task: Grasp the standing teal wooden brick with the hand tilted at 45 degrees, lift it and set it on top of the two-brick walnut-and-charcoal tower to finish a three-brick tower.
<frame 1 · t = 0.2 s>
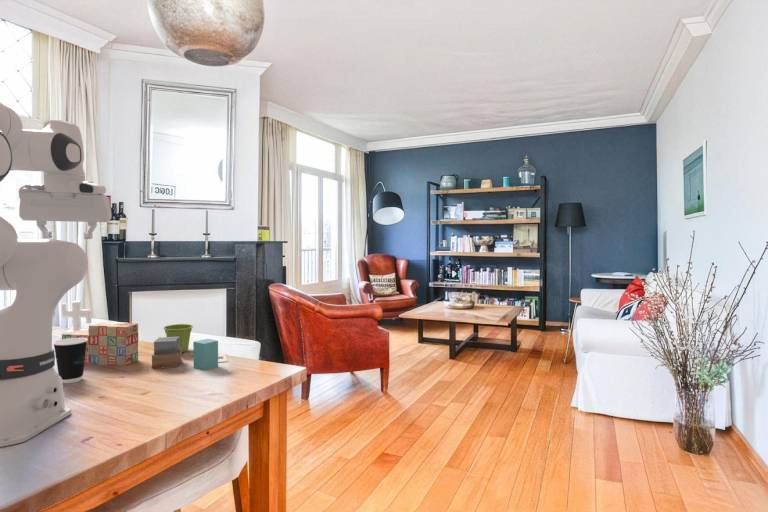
hand: (68, 238, 119), 39 cm above the table, tool pointing down, fingers open, 8 cm apart
instruction card: (213, 359, 147), on the table
teal brick: (206, 367, 138), on the table
plant pot: (178, 351, 156), on the table
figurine: (77, 340, 172), on the table
tower: (167, 364, 140), on the table
dixie cup: (71, 381, 124), on the table
stack of blocks: (100, 362, 142), on the table
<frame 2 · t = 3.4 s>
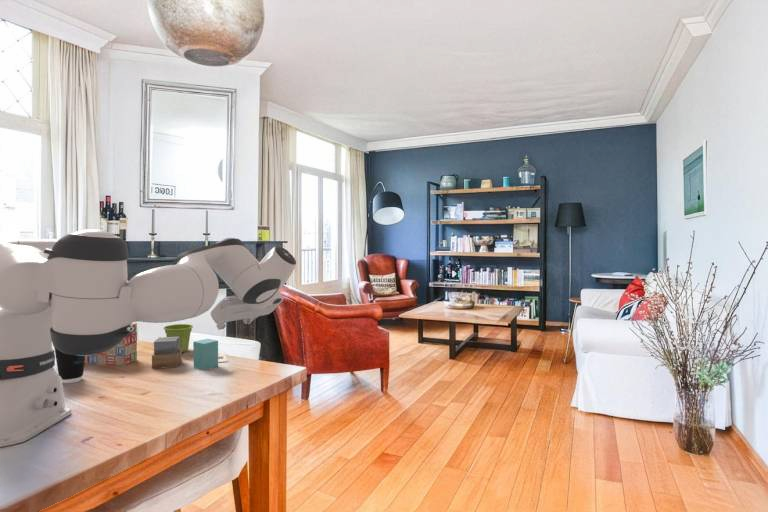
hand: (233, 325, 130), 14 cm above the table, tool tilted 45°, fingers open, 8 cm apart
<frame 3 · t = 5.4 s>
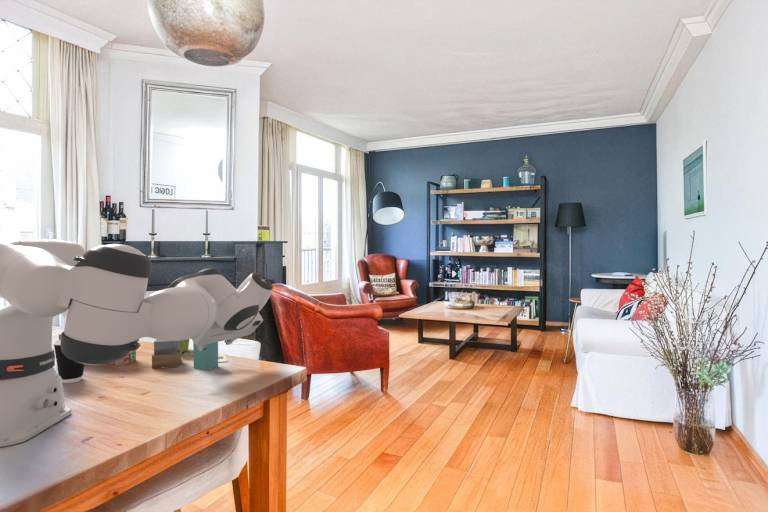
hand: (214, 345, 136), 7 cm above the table, tool tilted 45°, fingers open, 8 cm apart
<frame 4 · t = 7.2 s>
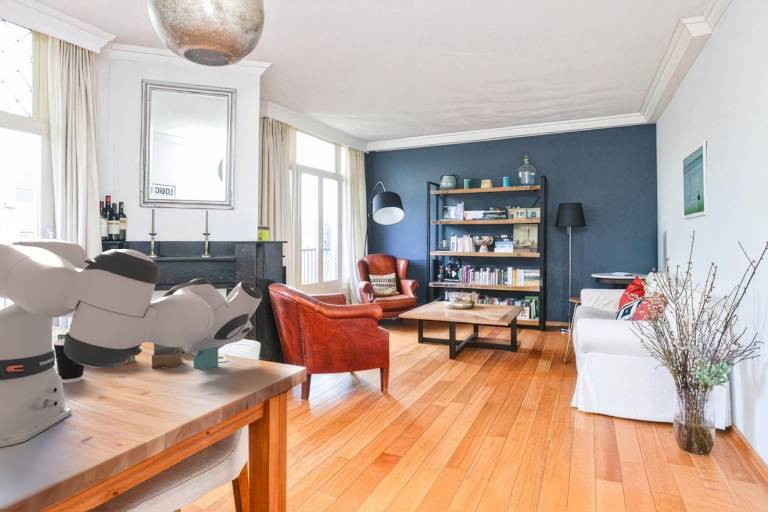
hand: (204, 352, 138), 4 cm above the table, tool tilted 45°, fingers closed on teal brick, 5 cm apart
teal brick: (205, 366, 138), on the table, touching gripper
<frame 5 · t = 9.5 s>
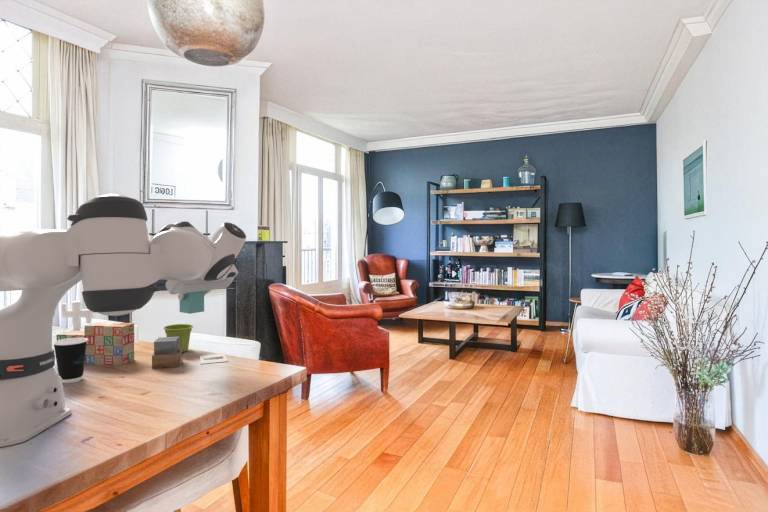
hand: (190, 297, 138), 21 cm above the table, tool tilted 45°, fingers closed on teal brick, 5 cm apart
teal brick: (192, 311, 138), point 17 cm above the table, touching gripper
when the fingers open (13 cm above the table, at t = 12.3 s): teal brick stays where it is, resting on tower.
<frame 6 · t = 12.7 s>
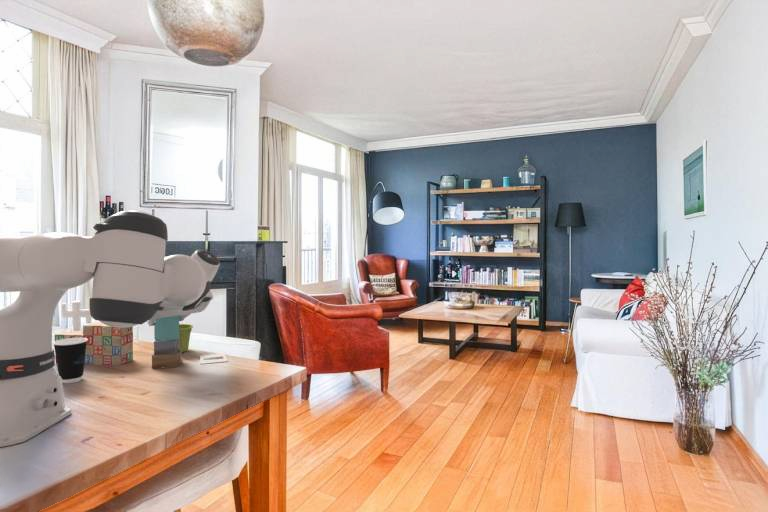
hand: (165, 321, 139), 13 cm above the table, tool tilted 45°, fingers open, 8 cm apart
teal brick: (166, 339, 139), point 8 cm above the table, touching tower
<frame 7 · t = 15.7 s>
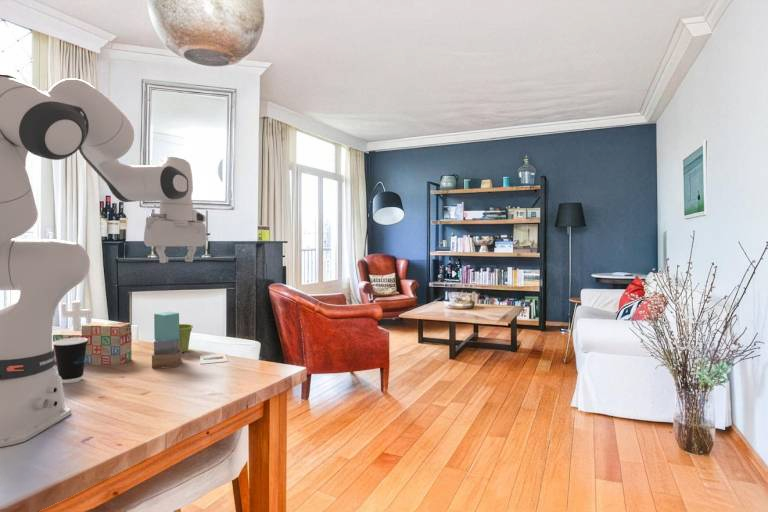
hand: (176, 262, 132), 32 cm above the table, tool pointing down, fingers open, 8 cm apart
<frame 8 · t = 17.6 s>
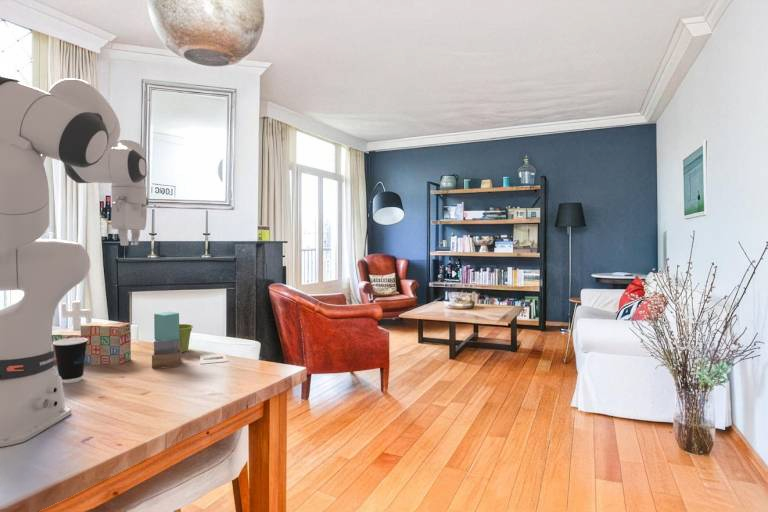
hand: (129, 245, 132), 37 cm above the table, tool pointing down, fingers open, 8 cm apart
at the end: teal brick 0.0 cm off-centre on the tower, point 8.0 cm above the tower's base; teal brick tilted 0°; the gripper is holding nothing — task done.
